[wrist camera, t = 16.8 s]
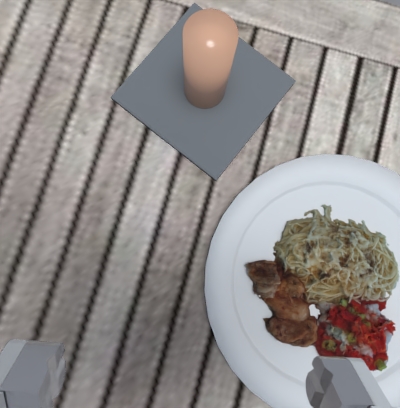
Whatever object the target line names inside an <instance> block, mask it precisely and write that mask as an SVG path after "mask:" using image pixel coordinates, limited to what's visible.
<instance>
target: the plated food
mask: <svg viewBox="0 0 400 408" xmlns="http://www.w3.org/2000/svg"><path fill="white" fill-rule="evenodd" d="M204 292H205V299H206V306H207V313H208V319H209V322H210V325H211V328H212V330H213V333H214V336H215V339H216V342H217V345H218V347H219V349H220V350H221V352H222V354H223V355H224V357H225V359H226V361H227V362H228V364H229V366H230V367H231V369H232V371H233V372H234V373H235V374H236V375H237V376H238V377H239V378H240V380H241V381H242V382H243V383H244V384H245V385H246V386H247V388H248V389H249V390H250V391H251V392H253V393H254V394H255V395H256V396H258V397H259V398H260V399H262V400H263V401H264V402H266V403H267V404H268V405H270V406H271V407H272V408H313V407H312V406H311V405H310V403H309V400H308V398H307V394H306V377H307V374H308V372H310V371H311V370H313V369H314V368H313V366H312V361H313V359H314V358H315V357H316V356H331V357H348V358H361V359H362V360H363V361H364V362H365V363H366V365H367V367H368V368H369V370H370V372H371V373H372V375H373V377H374V378H375V380H376V381H377V383H378V385H379V386H380V388H381V390H382V391H383V393H384V395H385V396H386V398H387V400H388V401H389V403H390V405H391V406H392V407H397V408H400V175H399V174H397V173H396V172H394V171H392V170H390V169H388V168H386V167H383V166H381V165H379V164H377V163H375V162H373V161H369V160H365V159H361V158H357V157H353V156H350V155H333V154H321V155H314V156H307V157H300V158H297V159H295V160H292V161H289V162H286V163H283V164H280V165H278V166H276V167H274V168H272V169H271V170H269V171H267V172H266V173H264V174H262V175H261V176H259V177H257V178H256V179H255V180H254V181H253V182H252V183H250V184H249V185H248V186H247V187H246V188H245V189H244V190H243V191H242V192H241V193H239V194H238V195H237V197H236V198H235V199H234V201H233V202H232V204H231V205H230V206H229V208H228V209H227V210H226V212H225V213H224V214H223V216H222V218H221V220H220V222H219V225H218V227H217V229H216V231H215V233H214V235H213V238H212V240H211V245H210V249H209V253H208V257H207V261H206V267H205V289H204Z"/></svg>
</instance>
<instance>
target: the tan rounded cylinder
mask: <svg viewBox="0 0 400 408" xmlns="http://www.w3.org/2000/svg"><path fill="white" fill-rule="evenodd" d="M238 37H239V34H238V28H237V26H236V24H235V22H234V21H233V19H232V18H231V17H230V16H229V15H227V14H226V13H224V12H222V11H220V10H216V9H203V10H200V11H197V12H195V13H194V14H192V15H191V16H190V17H189V18H188V19H187V21H186V23H185V25H184V27H183V70H184V93H185V96H186V98H187V100H188V101H189V102H190V103H191V104H192V105H194V106H195V107H198V108H202V109H208V108H212V107H215V106H216V105H218V104H219V103H220V102H221V101H222V99H223V97H224V95H225V91H226V87H227V83H228V79H229V75H230V71H231V67H232V63H233V59H234V55H235V51H236V47H237V43H238Z"/></svg>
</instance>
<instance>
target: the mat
mask: <svg viewBox="0 0 400 408" xmlns="http://www.w3.org/2000/svg"><path fill="white" fill-rule="evenodd" d="M200 10H203V9H202V8H200V7H199V6H198V5H197V4H195V3H194V4H193V5H192V6H191V7H190V8H189V10H188V11H187V12H186V13H185V14H184V15H183V16H182V17H181V19H180V20H179V21H178V22H177V23H176V24H175V25H174V26H173V28H172V29H171V30H170V31H169V32H168V33H167V34H166V35H165V37H164V38H163V39H162V40H161V41H160V42H159V43H158V45H157V46H156V47H155V48H154V49H153V50H152V51H151V52H150V54H149V55H148V56H147V57H146V58H145V59H144V60H143V61H142V63H141V64H140V65H139V66H138V67H137V68H136V69H135V70H134V72H133V73H132V74H131V75H130V76H129V77H128V78H127V80H126V81H125V82H124V83H123V84H122V85H121V86H120V87H119V89H118V90H117V91H116V92H115V93H114V94H113V95H112V96H111V98H112V99H113V100H114V101H115V102H116V103H118V104H119V105H120V106H121V107H123V108H124V109H125V110H126V111H128V112H129V113H130V114H132V115H133V116H134V117H135V118H137V119H138V120H139V121H140V122H142V123H143V124H144V125H146V126H147V127H148V128H149V129H151V130H152V131H153V132H154V133H156V134H157V135H158V136H160V137H161V138H162V139H163V140H165V141H166V142H167V143H168V144H170V145H171V146H172V147H173V148H175V149H176V150H177V151H179V152H180V153H181V154H182V155H184V156H185V157H186V158H187V159H189V160H190V161H191V162H193V163H194V164H195V165H196V166H198V167H199V168H200V169H201V170H203V171H204V172H205V173H206V174H208V175H209V176H210V177H212V178H213V179H214V180H215V181H216V180H217V179H218V178H219V176H220V175H221V174H222V173H223V171H224V170H225V169H226V168H227V166H228V165H229V164H230V163H231V161H232V160H233V159H234V158H235V156H236V155H237V154H238V153H239V151H240V150H241V149H242V148H243V146H244V145H245V144H246V143H247V141H248V140H249V139H250V138H251V136H252V135H253V134H254V133H255V131H256V130H257V129H258V128H259V126H260V125H261V124H262V123H263V121H264V120H265V119H266V118H267V116H268V115H269V114H270V113H271V111H272V110H273V109H274V108H275V106H276V105H277V104H278V103H279V101H280V100H281V99H282V97H283V96H284V95H285V94H286V92H287V91H288V90H289V89H290V87H291V86H292V85H293V84H294V82H295V80H294V79H293V78H292V77H290V76H289V75H288V74H286V73H285V72H284V71H282V70H281V69H280V68H279V67H277V66H276V65H275V64H273V63H272V62H271V61H269V60H268V59H267V58H265V57H264V56H263V55H262V54H260V53H259V52H258V51H256V50H255V49H254V48H252V47H251V46H250V45H249V44H247V43H246V42H245V41H243V40H242V39H241V38H239V37H238V43H237V47H236V51H235V55H234V59H233V63H232V67H231V71H230V75H229V79H228V83H227V87H226V91H225V95H224V97H223V99H222V101H221V102H220V103H219V104H218V105H216V106H215V107H212V108H208V109H202V108H198V107H195V106H194V105H192V104H191V103H190V102H189V101H188V100H187V98H186V96H185V93H184V70H183V27H184V25H185V23H186V21H187V19H188V18H189V17H190V16H191V15H192V14H194V13H195V12H197V11H200Z"/></svg>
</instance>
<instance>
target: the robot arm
mask: <svg viewBox="0 0 400 408" xmlns="http://www.w3.org/2000/svg"><path fill="white" fill-rule="evenodd" d="M64 351H65V349H64V343H57V342H45V341H32V340H17V339H12V340H10V341H9V342H8V343H7V344H6V346H5V347H4V349H3V350H2V352H1V353H0V408H53V401H52V400H53V399H55V398H56V397H57V396H58V395H59V393H60V391H61V388H62V385H63V381H64V377H65V371H66V361H65V360H64V359H63V358H62V356H63V354H64ZM312 366H313V368H314V369H313V370H311V371H310V372H308V374H307V377H306V394H307V398H308V400H309V403H310V405H311V406H312V407H313V408H397V407H392V406H391V405H390V403H389V401H388V400H387V398H386V396H385V395H384V393H383V391H382V390H381V388H380V386H379V385H378V383H377V381H376V380H375V378H374V377H373V375H372V373H371V372H370V370H369V368H368V367H367V365H366V363H365V362H364V361H363V360H362V359H361V358H348V357H331V356H316V357H315V358H314V359H313V361H312Z"/></svg>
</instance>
